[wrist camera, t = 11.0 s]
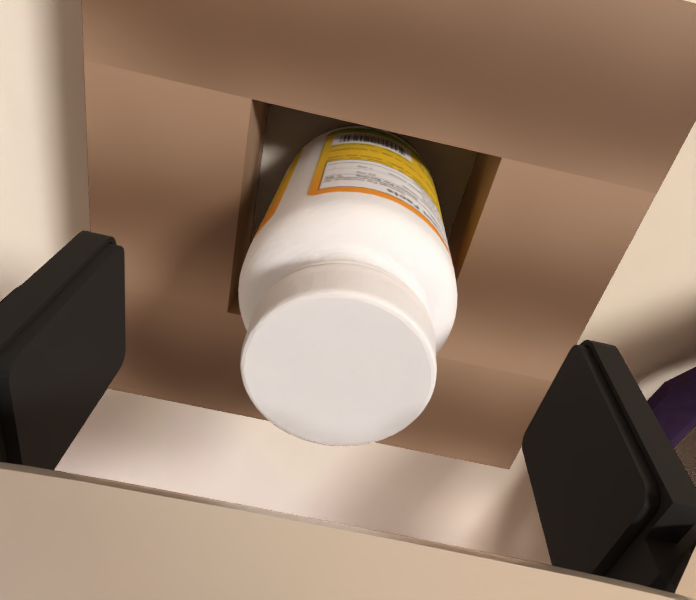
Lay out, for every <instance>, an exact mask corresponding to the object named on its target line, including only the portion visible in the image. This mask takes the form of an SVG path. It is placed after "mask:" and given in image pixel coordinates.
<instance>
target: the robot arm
mask: <svg viewBox="0 0 696 600" xmlns="http://www.w3.org/2000/svg"><path fill="white" fill-rule="evenodd" d="M125 352H126V333H125V253H124V248H123V247H122V246H119V245H117V244H116V240H115V238H114V237H112V236H107V235H103V234H98V233H93V232H89V231H82V232H80V233H79V234H78V235H77V236H75V237H74V238H73V239H72V240H71V241H70V242H69V243H68V244H67V245H65V246H64V247H63V248H62V249H61V250H60V251H59V252H58V253H57V254H55V255H54V256H53V257H52V258H51V259H50V260H49V261H48V262H47V263H45V264H44V265H43V266H42V267H41V268H40V269H39V270H38V271H36V272H35V273H34V274H33V275H32V276H31V277H30V278H29V279H28V280H26V281H25V282H24V283H23V284H22V285H20V286H19V287H17V288H16V289H14V290H13V291H12V292H11V293H10V294H9V295H7V296H6V297H5V298H4V299H3V300H2V301H1V302H0V600H696V487H695V486H694V484H693V482H692V480H691V479H690V477H689V475H688V473H687V472H686V470H685V468H684V466H683V464H682V463H681V461H680V459H679V457H678V456H677V454H676V452H675V450H674V448H673V447H672V445H671V443H670V441H669V440H668V438H667V436H666V434H665V432H664V431H663V429H662V427H661V425H660V424H659V422H658V420H657V418H656V416H655V415H654V413H653V411H652V409H651V408H650V406H649V404H648V402H647V400H646V399H645V397H644V395H643V393H642V392H641V390H640V388H639V386H638V384H637V383H636V381H635V379H634V377H633V376H632V374H631V372H630V370H629V369H628V367H627V365H626V363H625V361H624V360H623V358H622V356H621V354H620V353H619V351H618V349H617V348H616V347H615V346H613V345H609V344H604V343H599V342H595V341H590V340H585V341H583V342H582V343H581V344H580V345H574V346H573V347H572V348H571V349H570V351H569V353H568V354H567V356H566V358H565V360H564V362H563V364H562V365H561V367H560V369H559V371H558V373H557V375H556V376H555V378H554V380H553V382H552V384H551V386H550V387H549V389H548V391H547V393H546V395H545V397H544V398H543V400H542V402H541V404H540V406H539V408H538V409H537V411H536V413H535V415H534V417H533V419H532V420H531V422H530V424H529V426H528V428H527V430H526V431H525V434H524V436H523V441H522V450H523V454H524V458H525V462H526V466H527V470H528V473H529V477H530V481H531V485H532V489H533V493H534V497H535V501H536V504H537V508H538V512H539V516H540V520H541V524H542V528H543V531H544V535H545V539H546V543H547V547H548V551H549V555H550V559H551V562H552V565H547V564H542V563H537V562H532V561H527V560H522V559H517V558H512V557H507V556H502V555H496V554H491V553H486V552H481V551H476V550H471V549H466V548H461V547H456V546H451V545H446V544H441V543H436V542H431V541H426V540H421V539H416V538H411V537H406V536H401V535H396V534H391V533H386V532H380V531H375V530H370V529H365V528H360V527H355V526H350V525H345V524H339V523H334V522H329V521H324V520H319V519H314V518H308V517H303V516H298V515H293V514H288V513H282V512H277V511H272V510H267V509H262V508H257V507H251V506H246V505H241V504H235V503H230V502H225V501H219V500H214V499H209V498H203V497H198V496H193V495H188V494H182V493H177V492H172V491H166V490H161V489H156V488H150V487H145V486H140V485H134V484H129V483H124V482H118V481H113V480H107V479H101V478H95V477H90V476H84V475H78V474H72V473H67V472H61V471H55V470H54V469H55V467H56V466H57V464H58V463H59V461H60V460H61V458H62V457H63V455H64V454H65V452H66V451H67V449H68V448H69V446H70V444H71V443H72V441H73V440H74V438H75V437H76V435H77V434H78V432H79V431H80V429H81V428H82V426H83V425H84V423H85V422H86V420H87V419H88V417H89V415H90V414H91V412H92V411H93V409H94V408H95V406H96V405H97V403H98V402H99V400H100V399H101V397H102V396H103V394H104V393H105V391H106V389H107V388H108V386H109V385H110V383H111V382H112V380H113V379H114V377H115V376H116V374H117V373H118V371H119V370H120V368H121V366H122V364H123V361H124V358H125Z"/></svg>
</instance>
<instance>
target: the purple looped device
mask: <svg viewBox="0 0 696 600" xmlns="http://www.w3.org/2000/svg"><path fill="white" fill-rule="evenodd" d="M647 402H648V404H649V406H650V408H651V409H652V411H653V413H654V415H655V416H656V418H657V420H658V422H659V424H660V425H661V427H662V429H663V431H664V432H665V434H666V436H667V438H668V440H669V441H670V443H671V445H672V447H673V448H674V447H675V446H676V445H677V444H678V443H679V442H680V441H681V440H682V439H683V438H684V437H685V436H686V435H687V434H688V433H689V432H690V431H691V430H692V429H693V428H694V427H695V426H696V367H694V368H692V369H690V370H688V371H686V372H684V373H682V374H680V375H678V376H676V377H674V378H672V379H670V380H668V381H666V382H664V383H663V385H662V386H661V387H660V388H659V389H658V390H657V391H656V392H655V393H654V394H653V395H652V396H651V397H650V398H649V400H648V401H647Z"/></svg>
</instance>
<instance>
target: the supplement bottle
mask: <svg viewBox="0 0 696 600" xmlns="http://www.w3.org/2000/svg"><path fill="white" fill-rule="evenodd" d="M238 296H239V307H240V312H241V316H242V319H243V322H244V325H245V327H246V330H247V333H246V336H245V339H244V343H243V346H242V350H241V359H240V369H241V375H242V380H243V384H244V387H245V389H246V392H247V394H248V396H249V397H250V399H251V400H252V402H253V404H254V405H255V407H256V408H257V409H258V410H259V411H260V413H261V414H262V415H263V416H265V417H266V418H267V419H268V420H269V421H270V422H271V423H273V424H274V425H275V426H277V427H278V428H280V429H281V430H283V431H285V432H287V433H289V434H291V435H293V436H296V437H298V438H300V439H303V440H306V441H310V442H313V443H318V444H323V445H330V446H355V445H363V444H369V443H373V442H376V441H380V440H383V439H385V438H387V437H389V436H392V435H394V434H396V433H398V432H399V431H401V430H403V429H404V428H406V427H407V426H408V425H409V424H411V423H412V422H413V421H414V420H415V419H416V418H417V417H418V416H419V415H420V414H421V413H422V411H423V410H424V409H425V407H426V406H427V404H428V402H429V400H430V398H431V396H432V393H433V391H434V387H435V383H436V373H437V364H436V355H437V354H438V352H439V351H440V350H441V348H442V347H443V345H444V344H445V342H446V340H447V338H448V336H449V334H450V332H451V329H452V327H453V324H454V320H455V316H456V310H457V285H456V278H455V272H454V267H453V263H452V258H451V255H450V251H449V246H448V242H447V238H446V233H445V229H444V224H443V220H442V215H441V210H440V206H439V201H438V196H437V192H436V188H435V184H434V181H433V178H432V175H431V173H430V170H429V168H428V166H427V165H426V163H425V161H424V160H423V158H422V157H421V156H420V155H419V153H418V152H417V151H416V150H415V149H414V148H413V147H412V146H410V145H409V144H408V143H407V142H405V141H404V140H402V139H401V138H399V137H398V136H396V135H394V134H392V133H390V132H387V131H384V130H382V129H378V128H373V127H367V126H348V127H342V128H337V129H334V130H331V131H328V132H326V133H324V134H322V135H320V136H318V137H316V138H315V139H313V140H312V141H310V142H309V143H308V144H307V145H306V146H304V147H303V148H302V149H301V150H300V152H299V153H298V154H297V155H296V156H295V158H294V159H293V161H292V162H291V164H290V166H289V167H288V169H287V171H286V173H285V175H284V177H283V179H282V181H281V184H280V186H279V188H278V190H277V192H276V194H275V196H274V198H273V200H272V202H271V204H270V206H269V208H268V210H267V212H266V215H265V217H264V219H263V221H262V222H261V224H260V226H259V228H258V230H257V232H256V234H255V236H254V238H253V241H252V243H251V245H250V247H249V249H248V252H247V254H246V257H245V260H244V263H243V266H242V269H241V273H240V279H239V288H238Z"/></svg>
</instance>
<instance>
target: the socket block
mask: <svg viewBox="0 0 696 600" xmlns="http://www.w3.org/2000/svg"><path fill="white" fill-rule="evenodd" d="M82 24H83V51H84V77H85V103H86V130H87V156H88V182H89V208H90V232H93V233H98V234H103V235H107V236H112V237H114V238H115V240H116V244H117V245H119V246H122V247H123V248H124V253H125V333H126V352H125V358H124V361H123V364H122V366H121V368H120V370H119V371H118V373H117V374H116V376H115V377H114V379H113V380H112V382H111V383H110V385H109V386H108V389H113V390H118V391H123V392H128V393H133V394H138V395H143V396H148V397H153V398H158V399H163V400H168V401H173V402H178V403H183V404H188V405H193V406H198V407H203V408H208V409H213V410H217V411H222V412H227V413H232V414H237V415H242V416H247V417H252V418H257V419H262V420H267V421H269V420H268V419H267V418H266V417H265V416H263V415H262V414H261V413H260V411H259V410H258V409H257V408H256V407H255V405H254V404H253V402H252V400H251V399H250V397H249V396H248V394H247V392H246V389H245V387H244V384H243V380H242V375H241V369H240V359H241V350H242V346H243V343H244V339H245V336H246V333H247V330H246V327H245V325H244V322H243V319H242V316H241V312H240V307H239V296H238V288H239V279H240V273H241V269H242V266H243V263H244V260H245V257H246V254H247V252H248V249H249V247H250V243H251V235H252V228H253V220H254V212H255V205H256V197H257V190H258V182H259V174H260V167H261V159H262V152H263V144H264V136H265V129H266V121H267V113H268V106H269V103H270V104H275V105H279V106H283V107H288V108H292V109H296V110H300V111H305V112H309V113H313V114H318V115H322V116H326V117H330V118H335V119H339V120H343V121H348V122H352V123H356V124H360V125H365V126H369V127H373V128H378V129H382V130H386V131H390V132H395V133H399V134H403V135H408V136H412V137H416V138H420V139H425V140H429V141H433V142H438V143H442V144H446V145H450V146H455V147H459V148H463V149H468V150H472V151H476V152H478V155H477V157H476V160H475V163H474V166H473V169H472V172H471V175H470V178H469V181H468V184H467V187H466V190H465V193H464V196H463V199H462V202H461V204H460V207H459V210H458V213H457V216H456V219H455V222H454V225H453V228H452V231H451V234H450V237H449V240H448V246H449V251H450V255H451V258H452V263H453V267H454V272H455V278H456V285H457V310H456V316H455V320H454V324H453V327H452V329H451V332H450V334H449V336H448V338H447V340H446V342H445V344H444V345H443V347H442V348H441V350H440V351H439V352H438V354H437V355H436V364H437V373H436V383H435V387H434V391H433V393H432V396H431V398H430V400H429V402H428V404H427V406H426V407H425V409H424V410H423V411H422V413H421V414H420V415H419V416H418V417H417V418H416V419H415V420H414V421H413V422H412V423H411V424H409V425H408V426H407V427H406V428H404V429H403V430H401V431H399V432H398V433H396V434H394V435H392V436H389V437H387V438H385V439H383V440H380V441H376V443H381V444H386V445H391V446H396V447H401V448H406V449H411V450H416V451H421V452H426V453H431V454H436V455H441V456H445V457H450V458H455V459H460V460H465V461H470V462H475V463H480V464H485V465H490V466H495V467H500V468H505V469H510V467H511V465H512V463H513V461H514V460H515V458H516V456H517V454H518V452H519V450H520V448H521V446H522V441H523V436H524V434H525V431H526V430H527V428H528V426H529V424H530V422H531V420H532V419H533V417H534V415H535V413H536V411H537V409H538V408H539V406H540V404H541V402H542V400H543V398H544V397H545V395H546V393H547V391H548V389H549V387H550V386H551V384H552V382H553V380H554V378H555V376H556V375H557V373H558V371H559V369H560V367H561V365H562V364H563V362H564V360H565V358H566V356H567V354H568V353H569V351H570V349H571V348H572V347H573V346H574V345H576V344H577V342H578V340H579V338H580V336H581V334H582V332H583V330H584V329H585V327H586V325H587V323H588V321H589V319H590V317H591V315H592V314H593V312H594V310H595V308H596V306H597V304H598V302H599V301H600V299H601V297H602V295H603V293H604V291H605V289H606V287H607V286H608V284H609V282H610V280H611V278H612V276H613V274H614V272H615V271H616V269H617V267H618V265H619V263H620V261H621V259H622V257H623V256H624V254H625V252H626V250H627V248H628V246H629V244H630V243H631V241H632V239H633V237H634V235H635V233H636V231H637V229H638V228H639V226H640V224H641V222H642V220H643V218H644V216H645V214H646V213H647V211H648V209H649V207H650V205H651V203H652V201H653V199H654V198H655V196H656V194H657V192H658V190H659V188H660V186H661V184H662V183H663V181H664V179H665V177H666V175H667V173H668V171H669V170H670V168H671V166H672V164H673V162H674V160H675V158H676V156H677V155H678V153H679V151H680V149H681V147H682V145H683V143H684V141H685V140H686V138H687V136H688V134H689V132H690V130H691V128H692V126H693V125H694V123H695V121H696V4H695V3H691V2H687V1H683V0H82Z"/></svg>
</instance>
